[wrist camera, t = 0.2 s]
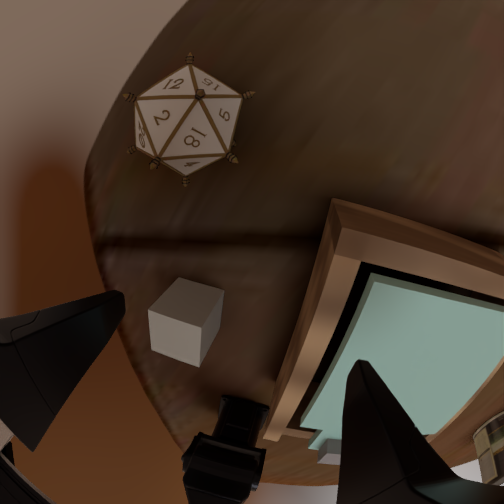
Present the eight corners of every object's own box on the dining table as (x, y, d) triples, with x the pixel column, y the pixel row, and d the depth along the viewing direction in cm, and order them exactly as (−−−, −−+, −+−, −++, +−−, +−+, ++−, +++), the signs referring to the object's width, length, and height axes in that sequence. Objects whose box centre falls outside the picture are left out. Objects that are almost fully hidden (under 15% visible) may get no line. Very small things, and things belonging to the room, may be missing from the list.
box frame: (410, 401, 26) (419, 450, 19) (275, 382, 29) (262, 438, 22) (499, 252, 18) (544, 292, 10) (331, 197, 20) (342, 227, 13)
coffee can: (503, 405, 24) (522, 464, 11) (519, 410, 24) (535, 459, 11) (463, 438, 28) (474, 495, 16) (484, 440, 28) (494, 489, 15)
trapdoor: (411, 445, 19) (414, 464, 17) (288, 436, 21) (284, 459, 18) (520, 310, 12) (536, 330, 9) (370, 272, 13) (380, 298, 11)
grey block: (219, 327, 27) (199, 367, 22) (178, 314, 28) (151, 349, 23) (224, 289, 26) (201, 327, 20) (178, 277, 26) (147, 309, 21)
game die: (228, 146, 24) (186, 232, 19) (152, 100, 21) (87, 176, 16) (288, 82, 17) (256, 167, 12) (194, 22, 14) (104, 77, 9)
